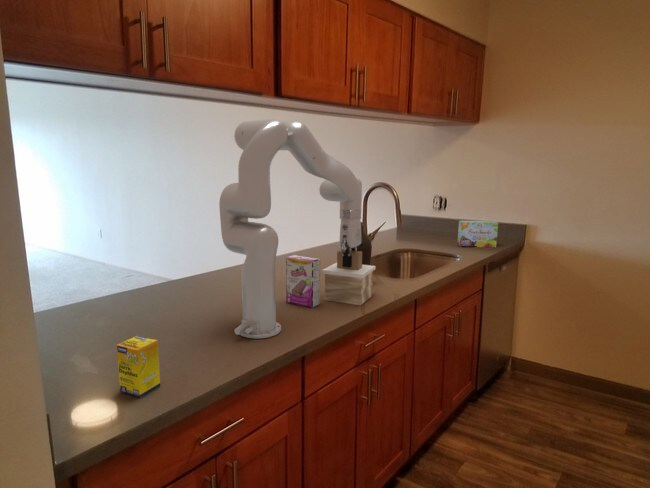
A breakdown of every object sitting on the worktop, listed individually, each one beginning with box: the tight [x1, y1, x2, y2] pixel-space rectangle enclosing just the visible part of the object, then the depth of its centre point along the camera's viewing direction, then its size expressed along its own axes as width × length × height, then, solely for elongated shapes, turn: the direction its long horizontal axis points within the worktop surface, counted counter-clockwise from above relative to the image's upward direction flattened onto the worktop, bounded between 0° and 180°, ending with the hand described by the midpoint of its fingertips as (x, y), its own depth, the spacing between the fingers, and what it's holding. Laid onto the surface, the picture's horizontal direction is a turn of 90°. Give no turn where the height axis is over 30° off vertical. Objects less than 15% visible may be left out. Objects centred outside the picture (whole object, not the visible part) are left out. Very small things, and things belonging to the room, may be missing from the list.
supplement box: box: [115, 335, 161, 399], centre depth 98 cm, size 6×6×11 cm
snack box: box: [456, 220, 499, 248], centre depth 263 cm, size 21×6×15 cm, turn 90°
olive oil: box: [346, 221, 373, 265], centre depth 182 cm, size 11×11×25 cm
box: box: [324, 271, 374, 306], centre depth 164 cm, size 12×13×10 cm
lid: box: [321, 249, 376, 278], centre depth 162 cm, size 14×15×7 cm
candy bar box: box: [285, 254, 321, 309], centre depth 156 cm, size 11×5×16 cm, turn 59°
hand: (349, 264), depth 162 cm, fingers closed on lid, 4 cm apart
